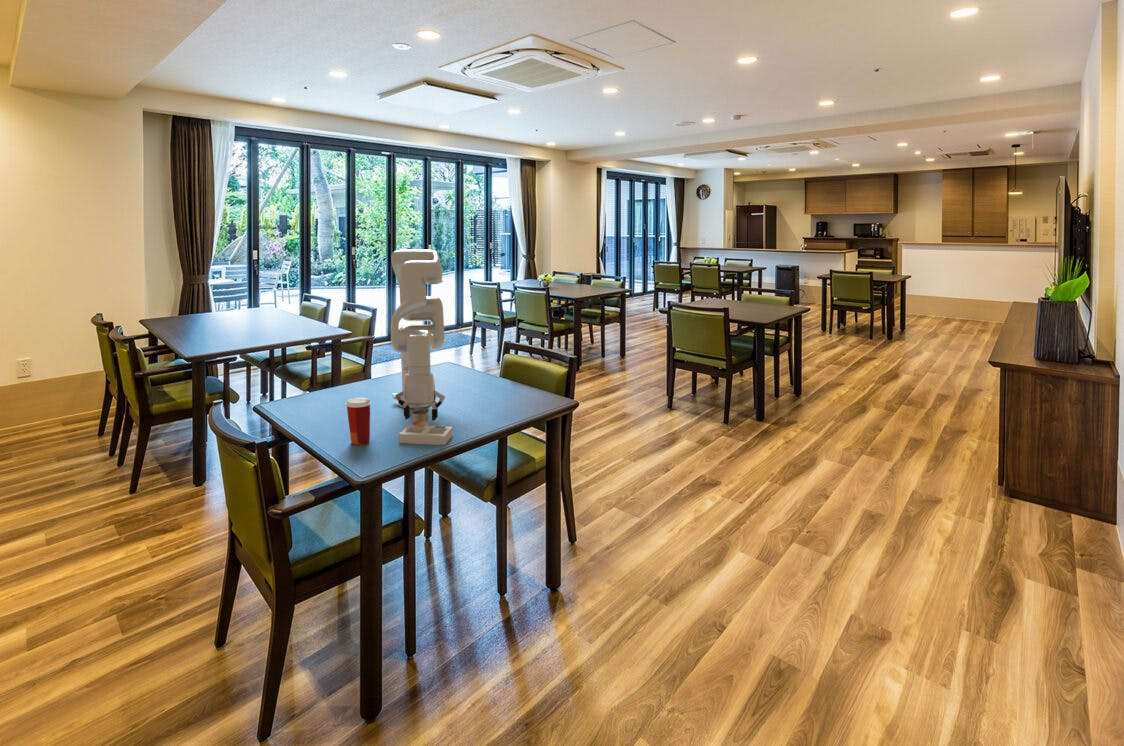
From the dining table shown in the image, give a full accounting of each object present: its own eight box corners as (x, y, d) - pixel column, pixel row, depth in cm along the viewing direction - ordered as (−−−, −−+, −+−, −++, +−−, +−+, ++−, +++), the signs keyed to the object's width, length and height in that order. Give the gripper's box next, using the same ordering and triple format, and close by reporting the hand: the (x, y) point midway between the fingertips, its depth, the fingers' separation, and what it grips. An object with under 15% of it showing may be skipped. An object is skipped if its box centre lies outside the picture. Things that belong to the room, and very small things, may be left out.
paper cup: (375, 438, 202) (373, 397, 199) (369, 446, 195) (367, 403, 192) (351, 438, 202) (349, 396, 199) (344, 446, 194) (341, 403, 191)
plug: (413, 430, 211) (412, 411, 209) (417, 427, 215) (416, 407, 213) (425, 431, 210) (424, 411, 209) (428, 427, 214) (428, 408, 213)
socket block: (399, 442, 198) (398, 433, 197) (409, 433, 208) (409, 423, 207) (444, 445, 197) (444, 435, 196) (452, 435, 207) (452, 425, 206)
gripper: (390, 371, 205) (392, 421, 209) (441, 373, 204) (442, 423, 207) (398, 367, 212) (400, 415, 216) (447, 368, 211) (448, 417, 214)
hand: (420, 419), depth 212 cm, fingers open, 9 cm apart
